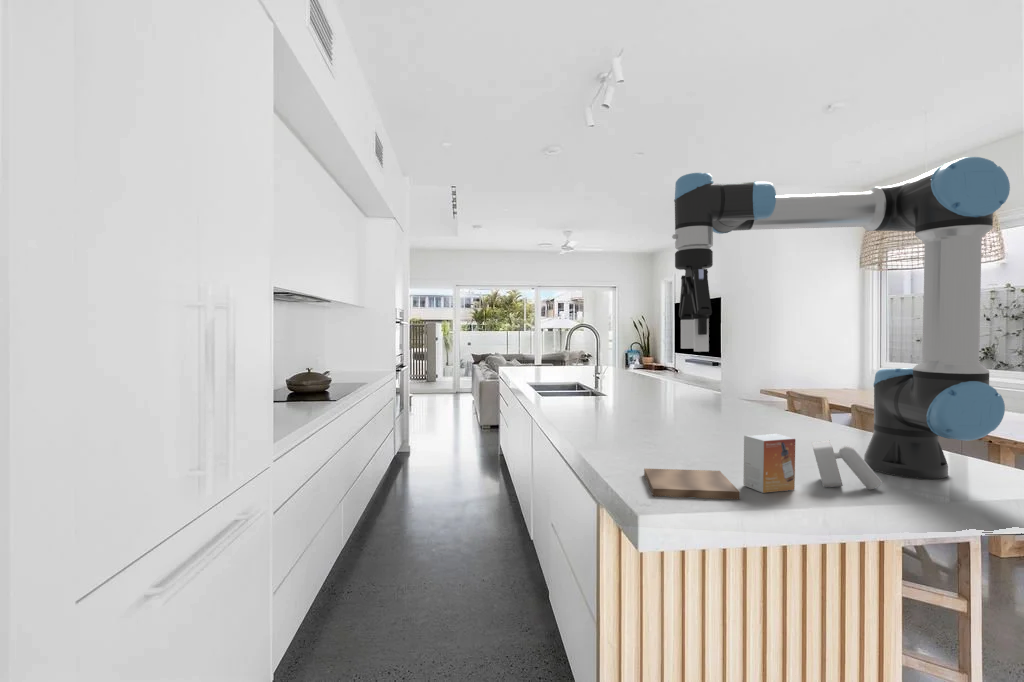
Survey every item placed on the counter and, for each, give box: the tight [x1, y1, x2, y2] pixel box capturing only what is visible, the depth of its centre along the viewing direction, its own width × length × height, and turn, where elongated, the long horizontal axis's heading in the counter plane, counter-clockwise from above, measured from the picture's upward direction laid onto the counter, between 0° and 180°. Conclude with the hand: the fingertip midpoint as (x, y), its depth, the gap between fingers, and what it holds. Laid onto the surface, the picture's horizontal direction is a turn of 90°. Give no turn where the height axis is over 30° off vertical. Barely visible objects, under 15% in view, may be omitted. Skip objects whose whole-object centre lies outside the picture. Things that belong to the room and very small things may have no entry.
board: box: [643, 467, 741, 500], centre depth 105 cm, size 16×14×2 cm
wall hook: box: [811, 439, 883, 490], centre depth 105 cm, size 8×10×10 cm
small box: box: [743, 432, 796, 494], centre depth 104 cm, size 8×6×10 cm
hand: (693, 350), depth 109 cm, fingers open, 13 cm apart
